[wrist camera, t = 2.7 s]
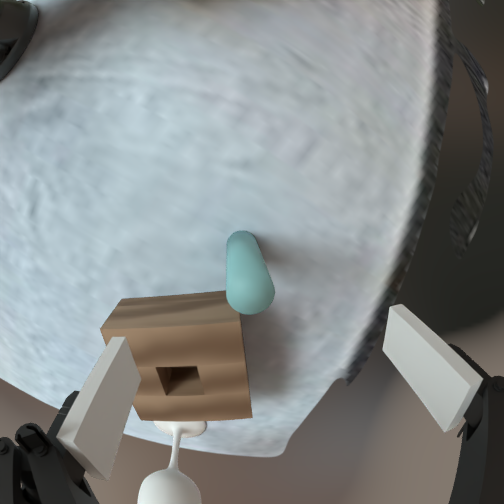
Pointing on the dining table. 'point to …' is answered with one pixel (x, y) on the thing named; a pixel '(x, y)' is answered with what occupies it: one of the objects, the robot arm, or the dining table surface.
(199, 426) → the wineglass
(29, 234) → the dining table surface
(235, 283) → the dowel
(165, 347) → the socket block
